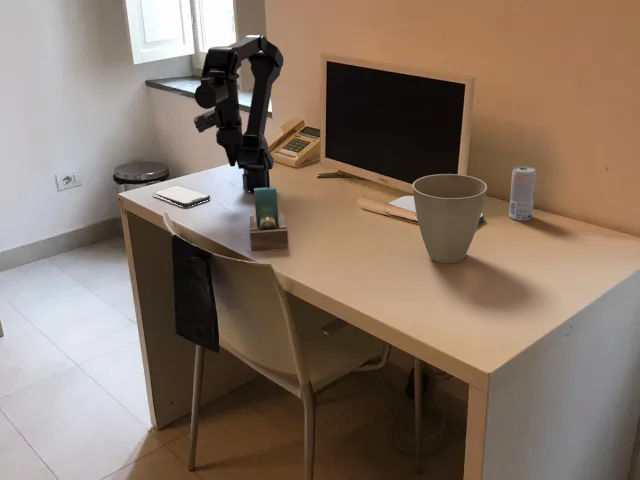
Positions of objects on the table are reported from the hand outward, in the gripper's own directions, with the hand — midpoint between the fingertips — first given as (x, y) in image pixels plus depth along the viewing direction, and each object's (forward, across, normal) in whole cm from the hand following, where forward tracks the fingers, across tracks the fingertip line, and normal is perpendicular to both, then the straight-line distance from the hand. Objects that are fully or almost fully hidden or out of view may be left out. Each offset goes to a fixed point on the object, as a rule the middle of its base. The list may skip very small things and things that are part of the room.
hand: (232, 161), depth 173 cm
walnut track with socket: (+12, +22, +7) cm, 26 cm away
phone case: (+13, -9, -15) cm, 21 cm away
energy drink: (+12, +23, +68) cm, 72 cm away
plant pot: (+12, +41, +44) cm, 62 cm away
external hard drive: (+13, +18, +48) cm, 52 cm away
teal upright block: (+12, +19, +7) cm, 24 cm away
